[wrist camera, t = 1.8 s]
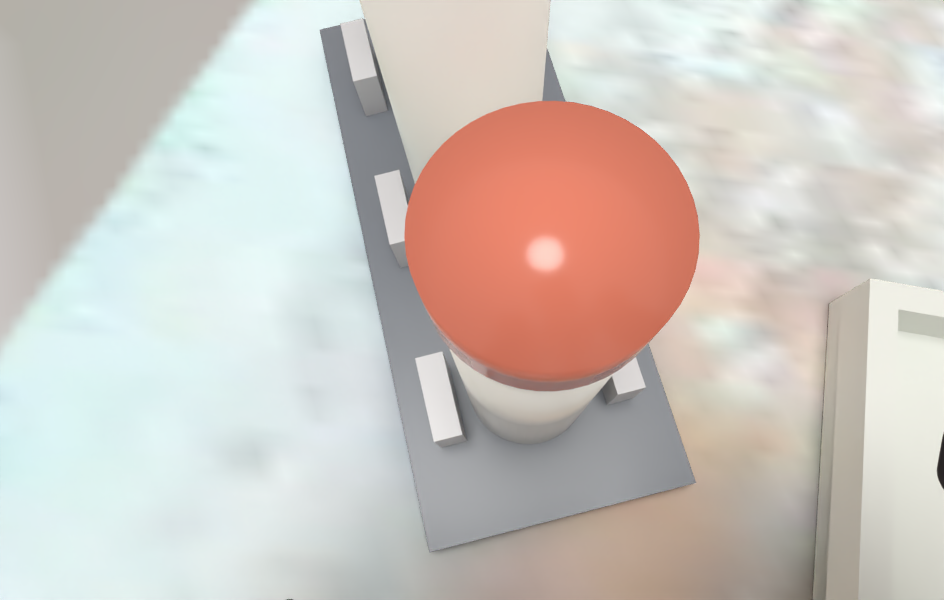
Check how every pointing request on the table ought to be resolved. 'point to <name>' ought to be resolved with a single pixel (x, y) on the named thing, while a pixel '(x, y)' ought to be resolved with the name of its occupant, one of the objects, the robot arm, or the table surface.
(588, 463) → the fuse panel
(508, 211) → the white cylinder orange top
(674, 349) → the table surface
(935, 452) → the tray
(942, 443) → the robot arm
